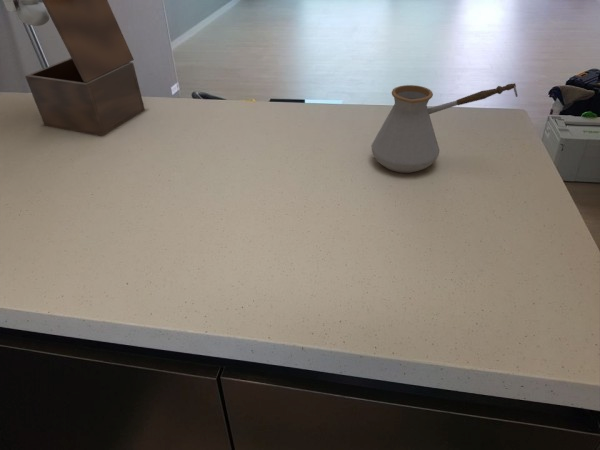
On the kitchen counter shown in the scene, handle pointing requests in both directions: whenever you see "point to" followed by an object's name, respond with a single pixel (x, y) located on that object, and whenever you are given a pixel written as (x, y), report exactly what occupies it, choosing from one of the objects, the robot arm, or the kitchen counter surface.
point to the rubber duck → (32, 12)
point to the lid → (90, 35)
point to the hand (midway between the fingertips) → (29, 6)
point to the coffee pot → (415, 128)
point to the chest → (86, 98)
